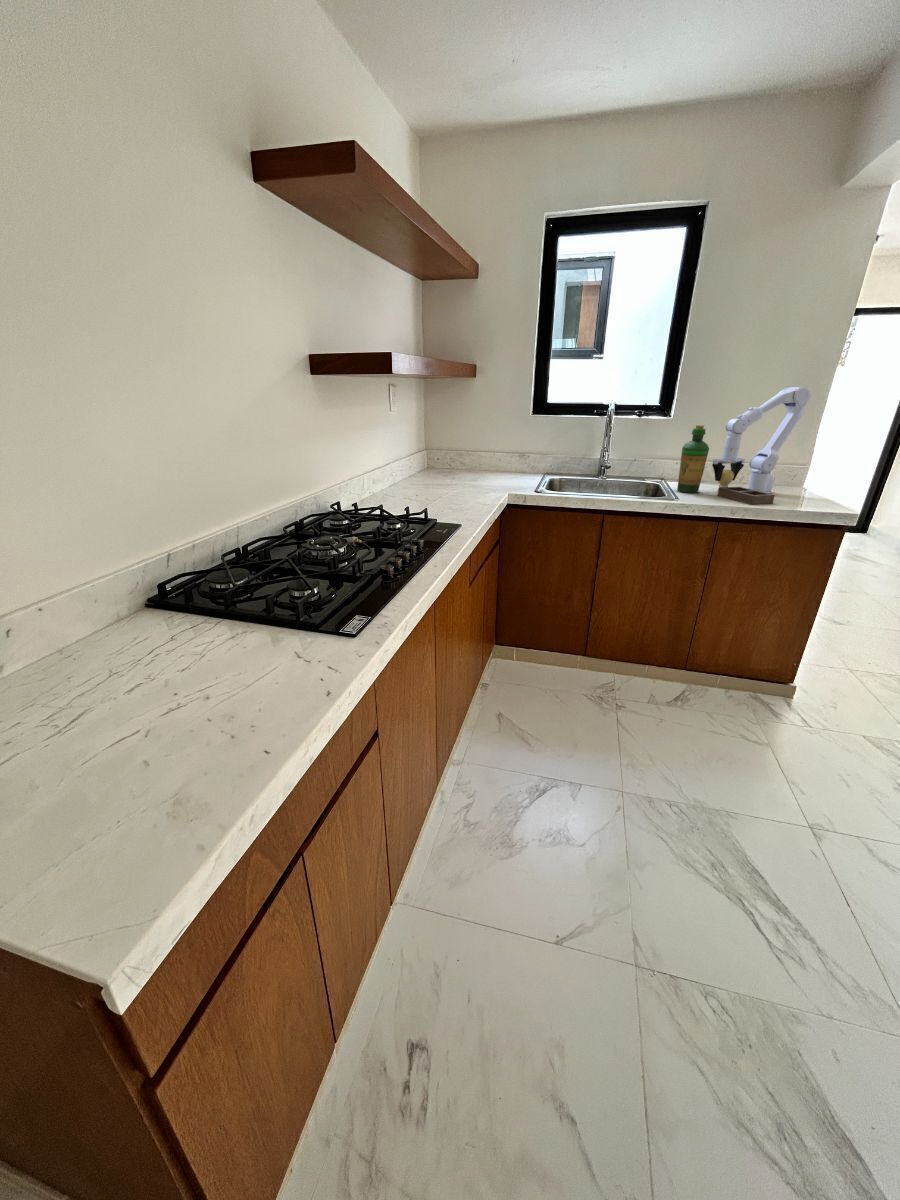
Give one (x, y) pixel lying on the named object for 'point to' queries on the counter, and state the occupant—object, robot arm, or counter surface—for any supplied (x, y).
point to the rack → (746, 495)
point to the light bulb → (726, 478)
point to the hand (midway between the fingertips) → (724, 480)
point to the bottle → (693, 462)
